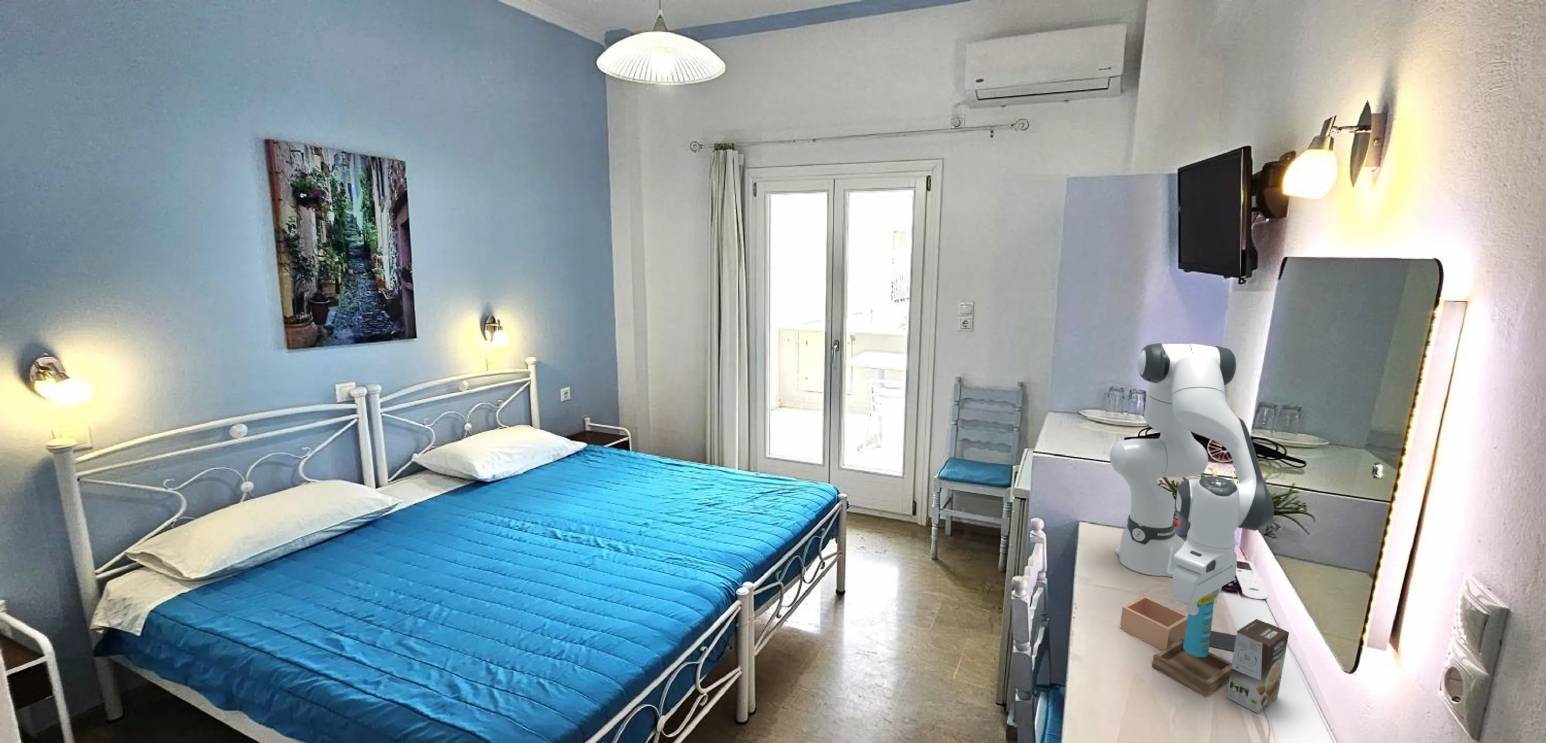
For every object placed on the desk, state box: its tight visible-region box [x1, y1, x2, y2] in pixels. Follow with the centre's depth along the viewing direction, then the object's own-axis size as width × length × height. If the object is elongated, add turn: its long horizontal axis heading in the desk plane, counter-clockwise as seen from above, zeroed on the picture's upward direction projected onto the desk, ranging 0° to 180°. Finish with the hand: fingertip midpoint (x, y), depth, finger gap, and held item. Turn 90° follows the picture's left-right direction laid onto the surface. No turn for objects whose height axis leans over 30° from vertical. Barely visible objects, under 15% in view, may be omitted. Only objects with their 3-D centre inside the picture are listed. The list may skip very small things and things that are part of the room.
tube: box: [1183, 591, 1215, 657], centre depth 151 cm, size 7×5×19 cm, turn 123°
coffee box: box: [1226, 618, 1290, 714], centre depth 144 cm, size 9×6×16 cm
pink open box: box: [1119, 595, 1188, 651], centre depth 168 cm, size 10×12×6 cm
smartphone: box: [1209, 630, 1237, 653], centre depth 164 cm, size 7×1×15 cm
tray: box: [1151, 638, 1232, 698], centre depth 154 cm, size 12×12×3 cm
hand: (1201, 608), depth 150 cm, fingers closed on tube, 6 cm apart
